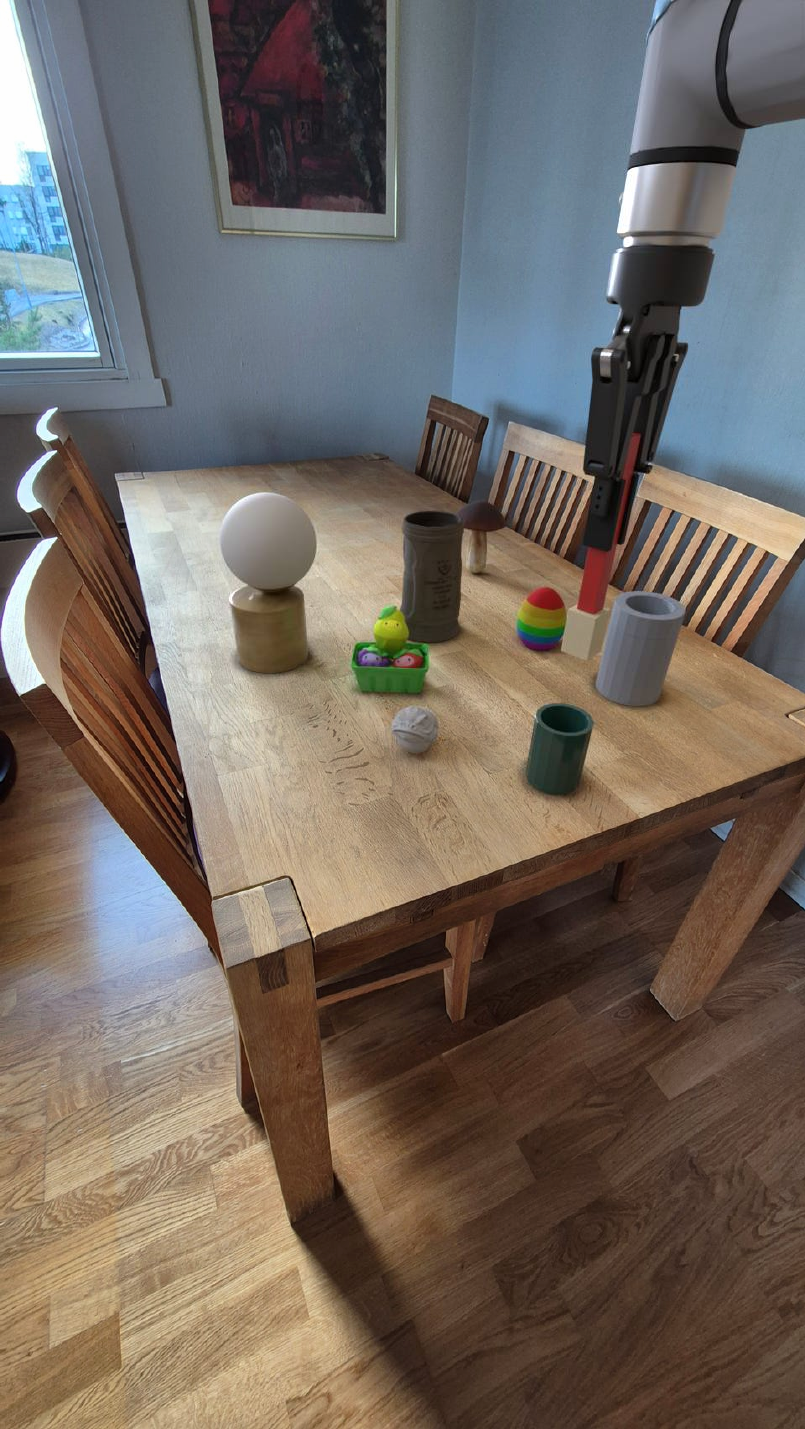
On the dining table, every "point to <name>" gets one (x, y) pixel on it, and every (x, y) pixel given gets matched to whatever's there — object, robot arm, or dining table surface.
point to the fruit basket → (390, 657)
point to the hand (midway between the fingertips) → (603, 543)
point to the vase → (639, 647)
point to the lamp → (268, 579)
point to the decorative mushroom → (479, 531)
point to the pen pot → (558, 748)
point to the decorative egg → (542, 619)
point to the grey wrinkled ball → (415, 728)
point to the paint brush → (596, 586)
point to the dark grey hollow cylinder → (432, 574)
